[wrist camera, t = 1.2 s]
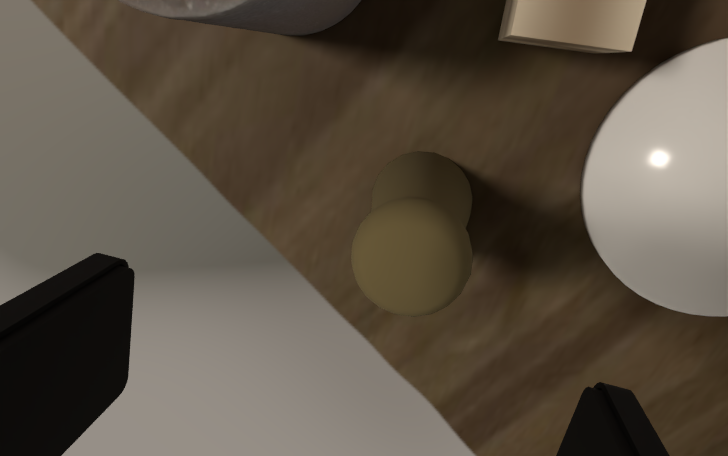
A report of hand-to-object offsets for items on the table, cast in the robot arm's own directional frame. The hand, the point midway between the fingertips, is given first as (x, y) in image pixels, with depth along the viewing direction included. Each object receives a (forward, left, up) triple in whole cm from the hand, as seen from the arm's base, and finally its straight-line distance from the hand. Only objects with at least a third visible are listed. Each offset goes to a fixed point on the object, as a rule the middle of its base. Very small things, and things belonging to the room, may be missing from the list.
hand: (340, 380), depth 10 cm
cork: (-1, +2, -22) cm, 22 cm away
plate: (-17, -2, -21) cm, 27 cm away
